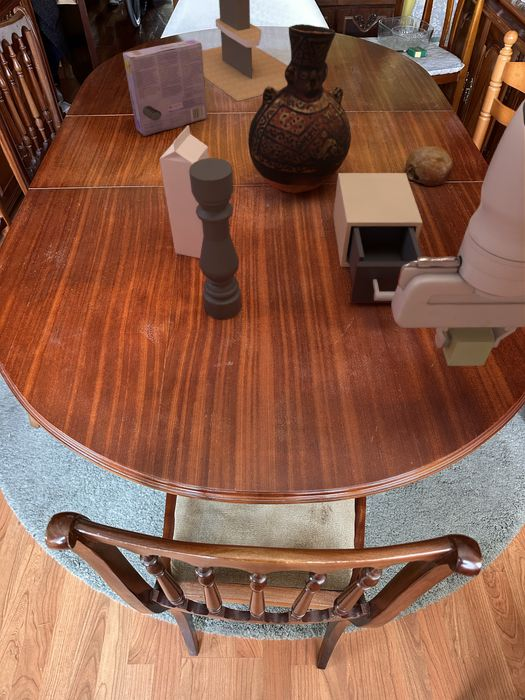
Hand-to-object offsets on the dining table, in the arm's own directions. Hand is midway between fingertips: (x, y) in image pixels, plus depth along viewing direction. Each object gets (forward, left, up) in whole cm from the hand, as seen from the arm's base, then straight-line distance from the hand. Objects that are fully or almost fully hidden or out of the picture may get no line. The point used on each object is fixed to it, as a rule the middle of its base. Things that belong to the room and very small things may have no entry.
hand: (465, 343), depth 64 cm
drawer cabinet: (+5, -37, -12) cm, 39 cm away
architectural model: (+32, -121, -12) cm, 126 cm away
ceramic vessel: (+18, -57, -12) cm, 61 cm away
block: (0, 0, -2) cm, 2 cm away
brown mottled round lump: (-11, -61, -12) cm, 63 cm away
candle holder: (+32, -19, -12) cm, 39 cm away
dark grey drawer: (+5, -24, -11) cm, 27 cm away
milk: (+38, -35, -12) cm, 53 cm away
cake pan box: (+48, -85, -12) cm, 98 cm away
